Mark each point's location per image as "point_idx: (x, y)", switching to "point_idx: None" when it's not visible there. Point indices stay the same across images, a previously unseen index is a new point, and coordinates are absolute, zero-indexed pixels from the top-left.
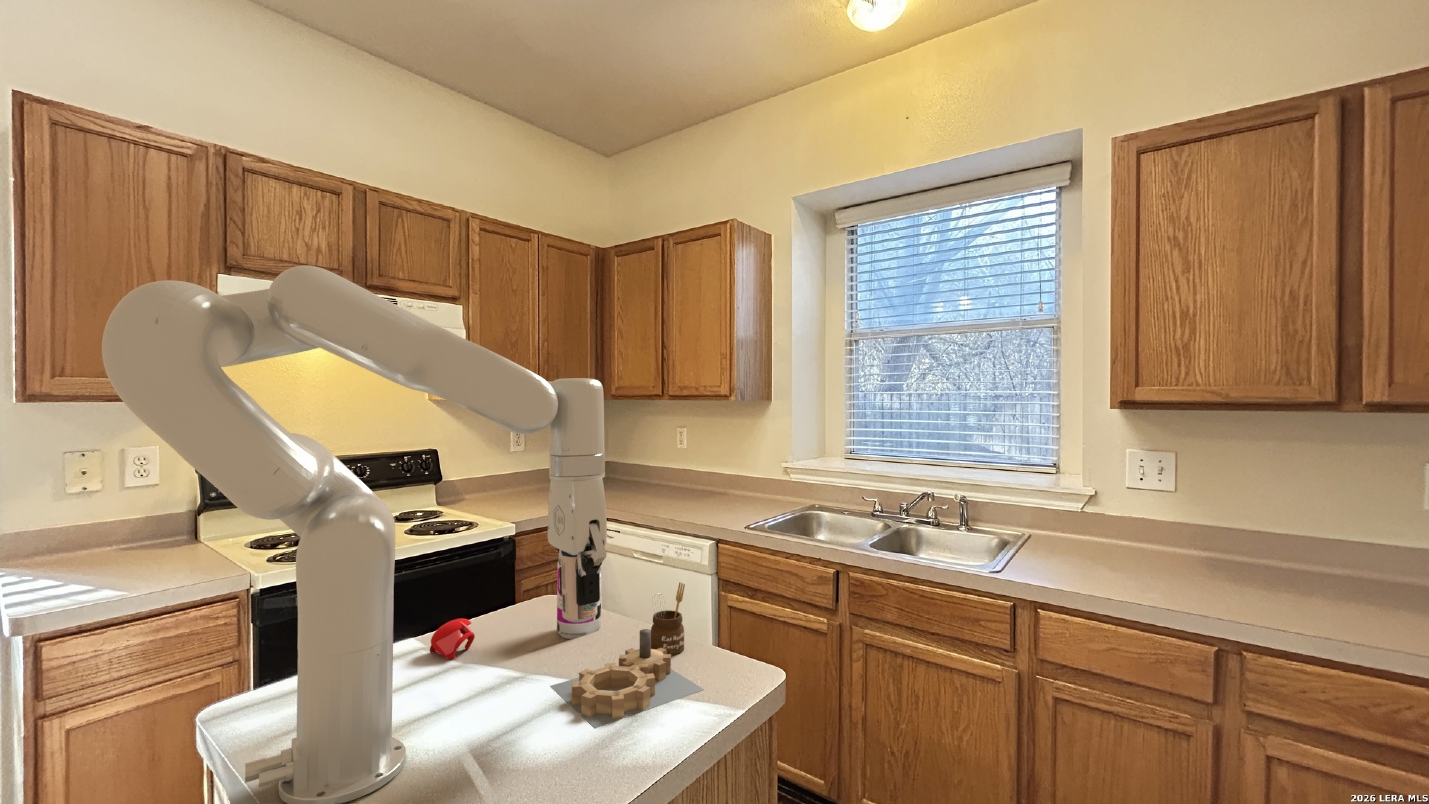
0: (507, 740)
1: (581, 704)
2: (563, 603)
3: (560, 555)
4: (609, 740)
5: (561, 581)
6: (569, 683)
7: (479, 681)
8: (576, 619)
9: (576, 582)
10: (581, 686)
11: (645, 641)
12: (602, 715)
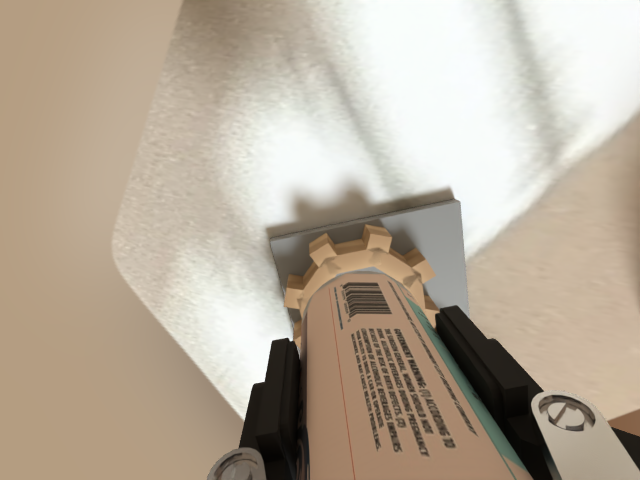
0: (317, 98)
1: (327, 237)
2: (360, 295)
3: (592, 455)
4: (249, 255)
5: (464, 340)
6: (449, 237)
7: (587, 70)
8: (307, 306)
9: (277, 403)
10: (365, 250)
11: None
12: (304, 262)
